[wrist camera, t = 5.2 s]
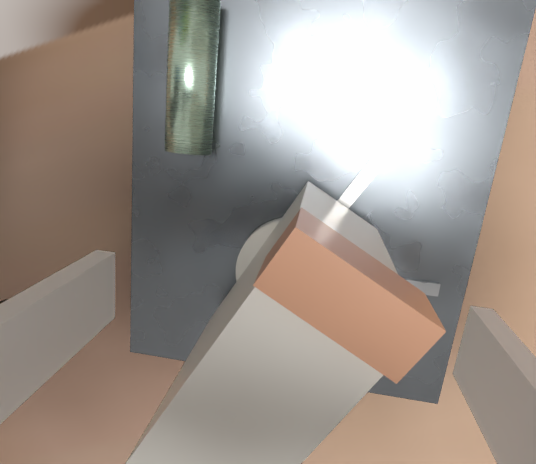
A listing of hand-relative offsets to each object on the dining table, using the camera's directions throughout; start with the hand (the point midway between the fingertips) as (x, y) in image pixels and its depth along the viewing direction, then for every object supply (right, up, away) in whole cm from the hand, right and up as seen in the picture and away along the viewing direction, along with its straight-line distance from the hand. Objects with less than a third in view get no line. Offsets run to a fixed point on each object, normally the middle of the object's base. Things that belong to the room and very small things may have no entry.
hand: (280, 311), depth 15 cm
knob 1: (+1, +1, +4) cm, 5 cm away
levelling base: (+2, +9, +4) cm, 10 cm away
